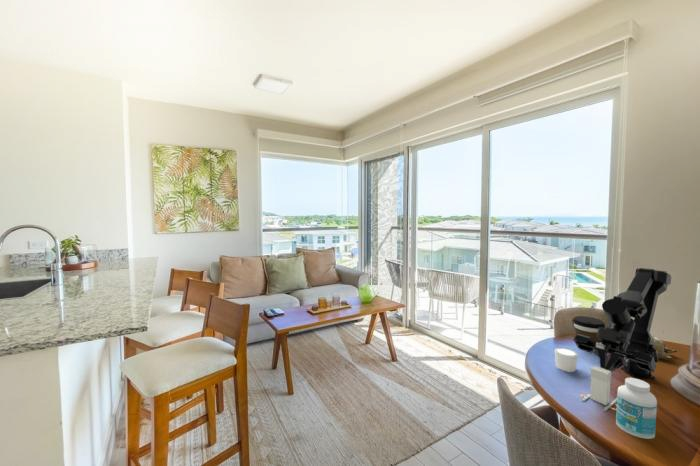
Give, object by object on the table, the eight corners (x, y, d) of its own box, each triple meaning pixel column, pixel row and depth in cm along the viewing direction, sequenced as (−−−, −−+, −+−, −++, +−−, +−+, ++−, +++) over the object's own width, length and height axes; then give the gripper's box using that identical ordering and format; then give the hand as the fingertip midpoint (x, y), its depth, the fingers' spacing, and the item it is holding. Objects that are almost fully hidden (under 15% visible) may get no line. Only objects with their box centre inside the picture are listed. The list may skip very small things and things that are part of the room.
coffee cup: (606, 356, 119) (608, 326, 118) (572, 350, 125) (573, 321, 124) (601, 345, 128) (603, 318, 127) (570, 340, 134) (571, 314, 133)
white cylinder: (581, 376, 105) (582, 357, 104) (559, 374, 106) (560, 355, 106) (571, 366, 112) (571, 348, 111) (550, 365, 113) (551, 346, 113)
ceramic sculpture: (628, 323, 129) (680, 336, 118) (626, 343, 130) (676, 357, 119) (622, 330, 123) (676, 344, 111) (620, 350, 124) (673, 366, 112)
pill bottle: (608, 422, 82) (610, 374, 81) (634, 422, 82) (637, 374, 81) (634, 443, 75) (637, 391, 74) (663, 442, 75) (666, 390, 74)
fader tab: (593, 395, 92) (594, 365, 92) (610, 402, 89) (611, 371, 88) (589, 398, 91) (590, 368, 90) (606, 405, 87) (607, 374, 87)
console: (595, 386, 99) (595, 382, 99) (631, 401, 91) (631, 396, 91) (575, 401, 91) (575, 396, 91) (612, 418, 84) (613, 413, 84)
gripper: (577, 309, 100) (559, 350, 95) (654, 327, 84) (638, 377, 79) (586, 328, 104) (570, 367, 99) (662, 348, 89) (647, 396, 83)
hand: (603, 375), depth 90 cm, fingers closed, pressing on fader tab
